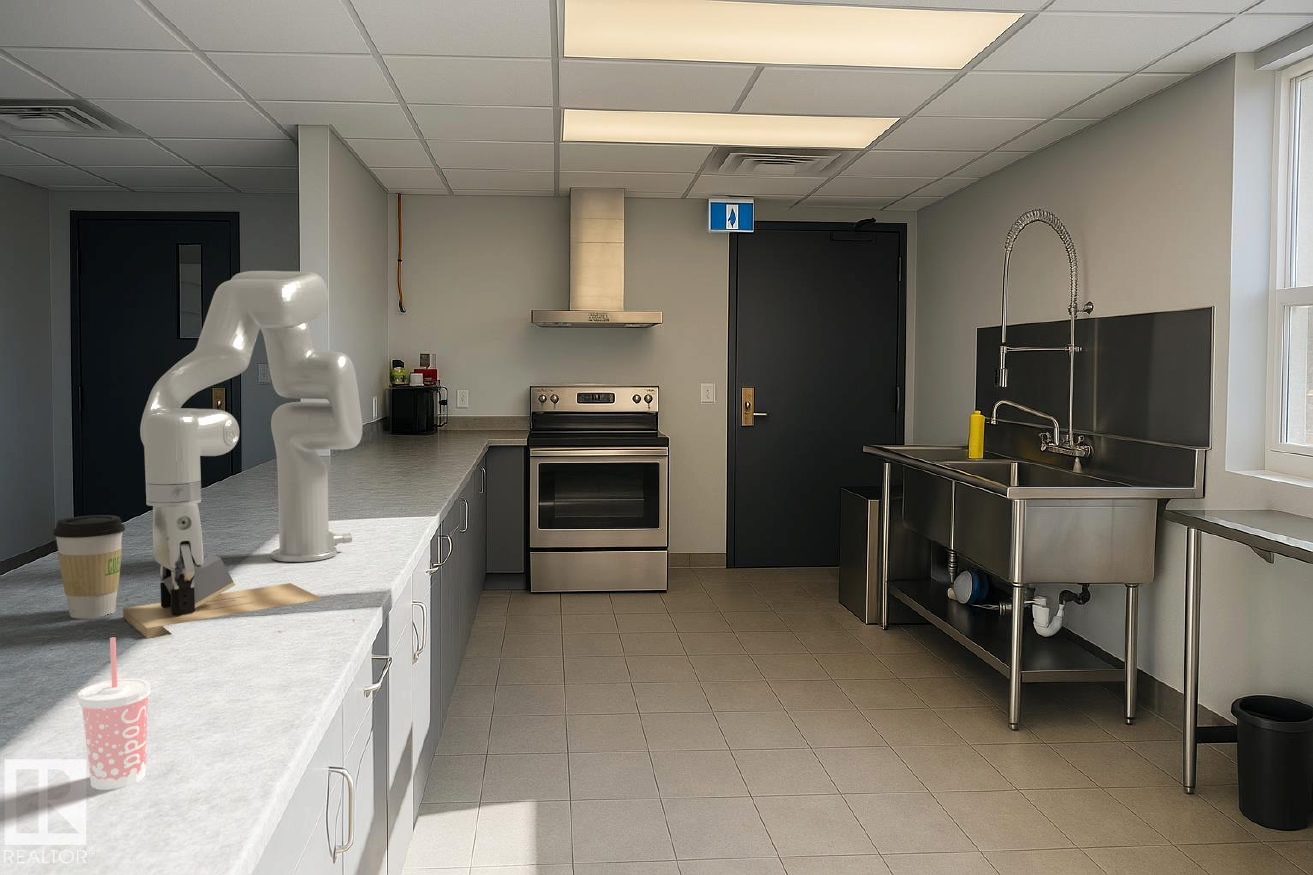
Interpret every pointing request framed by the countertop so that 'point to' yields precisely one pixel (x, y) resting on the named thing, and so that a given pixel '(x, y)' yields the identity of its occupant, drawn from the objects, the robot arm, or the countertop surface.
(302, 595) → the board
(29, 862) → the countertop surface
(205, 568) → the block
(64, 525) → the coffee cup
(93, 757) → the beverage cup
